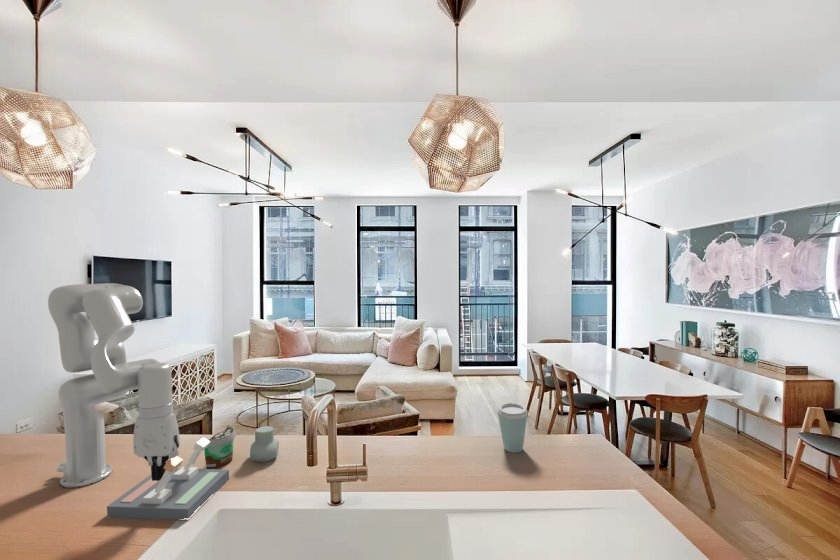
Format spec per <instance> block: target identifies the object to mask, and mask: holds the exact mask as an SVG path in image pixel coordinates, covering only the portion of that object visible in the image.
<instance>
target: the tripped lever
mask: <svg viewBox="0 0 840 560" xmlns="http://www.w3.org/2000/svg"><path fill="white" fill-rule="evenodd" d="M183 461H184V459H183V458H181V457H180V456H179V455H177V456H176V457H174V458H170V459H168V461H166V464H165V466H164V469H166V471H165V473H164V474H163V476H162V478H161V480H160V482H159V484H158V486H157V488H156V490H155V492H156V493H157V494H159V493H160V492H161V491H163V490H164V489H165V487H166V485H167V483H168V481H169V479H170V477H171V476H172V474H173V472H174V470H175V469H177V468H179V467H180V466H181V465H182V463H183Z"/></svg>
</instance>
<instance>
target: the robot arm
mask: <svg viewBox="0 0 840 560" xmlns="http://www.w3.org/2000/svg"><path fill="white" fill-rule="evenodd" d="M47 306H48V311H49V313H50V316H51V318H52V320H53V322H54V325H55V327H56V328H57V333H58V335H57V336H58V343H59V350H60V351H59V353H60V358H61V360H60V361H61V365H62V367H63V370H64V371H65V372H68V373H70V374H72V373H73V374H74V373H75V374H76V373H77V374H78V373H82V372H83V373H84V372H87V371H92V373H91V374H86V375H81V376H76V377H73V378H70V379H68V380H67V381H65V382H63V383H62V384H61V385H60V386H59V390H58V398H59V403H60V406H61V411H62V414H63V416H62V417H63V424H64V441H65V444H64V445H65V461H63V462H61V463H60V464H59V466H58V467H57V468H56V470H55V471H56V472H57V473H63V476H62V477H61V478H60V479H59V483H60V484H61V485H62V486H61V485H60V484H59V485H60V486H61V487H63V486H64V488H79V486H80V487H84V486H88V485H92V484H94V483H97V482H99V481H102V480H104V479H105V478H107V477H108V476H109V475H111V474H112V472H113V465H111V464H109V463H107V460H106V459H107V458H106V457H107V456H106V455H107V454H106V433H105V432H106V431H105V418H104V415H103V414H102V412H100V411H99V410H97V409H96V408H95V406H97V405H100V404H103V403H107V402H110V401H114V400H117V399H120V398H123V397H124V396H126V395H127V393H128V392H130V391H135V390H137V391H138V393H137V394H138V395H137V397H138V405H137V406H136V408H135V410H136V412H138V414H139V415H138V416H137V417H136V419H135V424H134V429H133V438H132V439H133V441H132V442H133V444H132V446H133V447H132V449H133V454H134V455H135V456H137V457H138V458H143V459H145V461H146V462H147V463H148V466H149V467H150V470H151V472H150V473H151V474H150V475H152V481H155V480H156V481H159V480H160V479H161V478H162V476H163V474H164V473H165V471H166V469H164V466H165V464H166V462H167V461H168V460H170V459H171V458H174V457H176V456H179V448H180V431H179V424H178V420H177V417H176V413H174V408H173V407H174V406H173V404H174V403H173V384H172V383H173V382H172V381H173V380H172V368H171V365H170V364H169V363H165V362H160V361H158V359H154V358H145V359H141V360H134V361H130V362H127V355H126V349H125V346H124V345H125V344H123V342H125V341H127V340H129V338H131V337H132V336H133V334H134V333H135V330H136V329H135V325H134V323H133V322H132V320H131V318H130V316H129V315H133V314H137V313H139V312H140V311H141V310H142V308H143V306H144V300H143V296H142V294H141V293H140V291H139V290H138V289H136V288H135V287H133V286H130V285H127V284H126V285H125V284H121V283H107V282H105V283H83V284H70V285H62V286H59V287H56V288H54V289H52V290H51V291H50V292H49V294H48V297H47ZM83 313H86V315H87V316H86V315H85V314H83ZM95 334H96V336H97V337H96V336H95ZM103 478H104V479H103ZM91 483H92V484H91Z"/></svg>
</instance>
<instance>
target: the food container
mask: <svg viewBox="0 0 840 560" xmlns="http://www.w3.org/2000/svg"><path fill="white" fill-rule="evenodd" d="M236 435H237V434H236V431H235V429H234V427H233V426H229V425H226V429H223V431H221V432H218V433H216V434H214V435H213V436H212V437H211V438H209V439H207V440H208V441H210V443H209V445H208V446H207V448H205V449H204V450H203V453H204V460H205V461H204V462H205V469H220V468H223V467H226V466H228V465H229V464H230V463H232V462H233V456H234V439H235V438H236Z"/></svg>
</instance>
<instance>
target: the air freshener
mask: <svg viewBox="0 0 840 560" xmlns="http://www.w3.org/2000/svg"><path fill="white" fill-rule="evenodd" d="M274 434H275V433H274V427H273V426H270V425H265V426H260V427H258V428H256V429H255V431H254V441H253V442H252V443H251V444H250V449H249V459H250V460H252V461H255V462H257V463H264V462H269V461H272V460H273V459H275V458H276V457H277V456H278V455H279V445H280V444H279V443H280V442H279V441H280V440H279V439H276V438H275V435H274Z"/></svg>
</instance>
